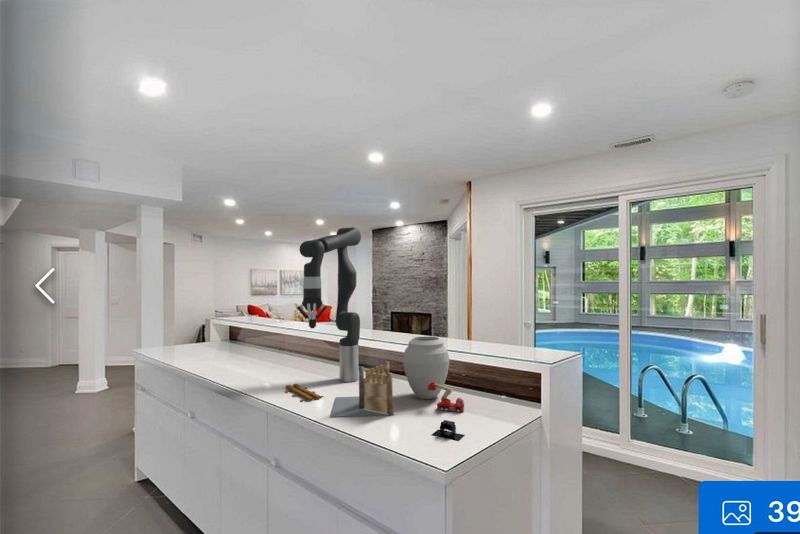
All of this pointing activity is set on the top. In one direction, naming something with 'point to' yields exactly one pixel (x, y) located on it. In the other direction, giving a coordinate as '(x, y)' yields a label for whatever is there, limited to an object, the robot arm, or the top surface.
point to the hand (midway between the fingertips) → (312, 328)
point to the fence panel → (377, 370)
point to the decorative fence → (302, 392)
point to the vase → (426, 365)
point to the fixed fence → (376, 392)
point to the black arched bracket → (446, 434)
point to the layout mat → (352, 408)
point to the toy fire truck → (445, 401)
